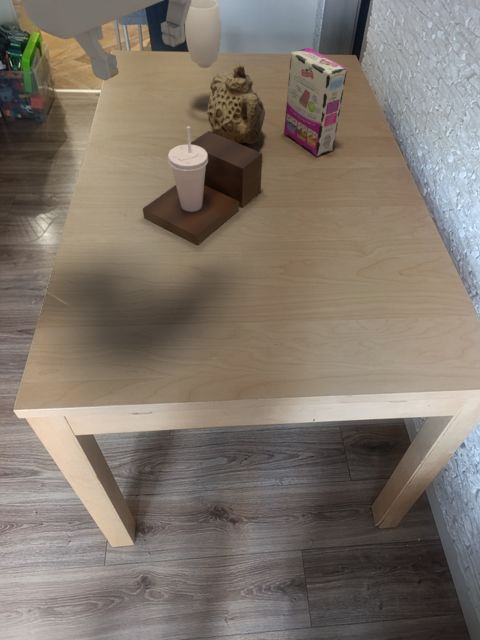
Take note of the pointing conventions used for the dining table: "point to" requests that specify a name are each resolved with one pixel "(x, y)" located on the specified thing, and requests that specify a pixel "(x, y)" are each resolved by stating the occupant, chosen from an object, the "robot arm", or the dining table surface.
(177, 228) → the step shelf
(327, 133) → the candy bar box
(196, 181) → the smoothie
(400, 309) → the dining table surface
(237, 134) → the teapot
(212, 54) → the white vase
